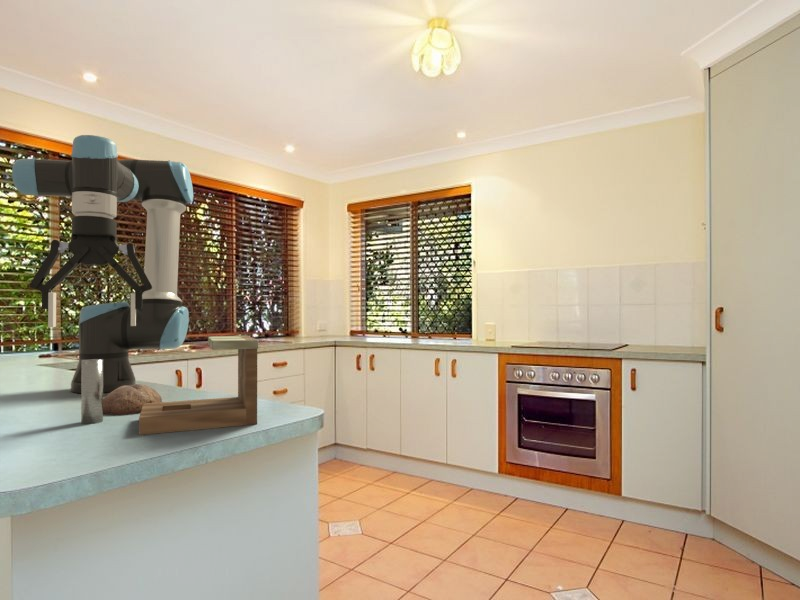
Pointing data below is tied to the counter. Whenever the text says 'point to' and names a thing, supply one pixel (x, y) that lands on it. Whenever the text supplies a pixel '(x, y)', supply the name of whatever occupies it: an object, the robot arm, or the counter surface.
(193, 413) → the socket station
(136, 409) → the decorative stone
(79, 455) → the counter surface
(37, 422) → the counter surface
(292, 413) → the counter surface
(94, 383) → the peg
